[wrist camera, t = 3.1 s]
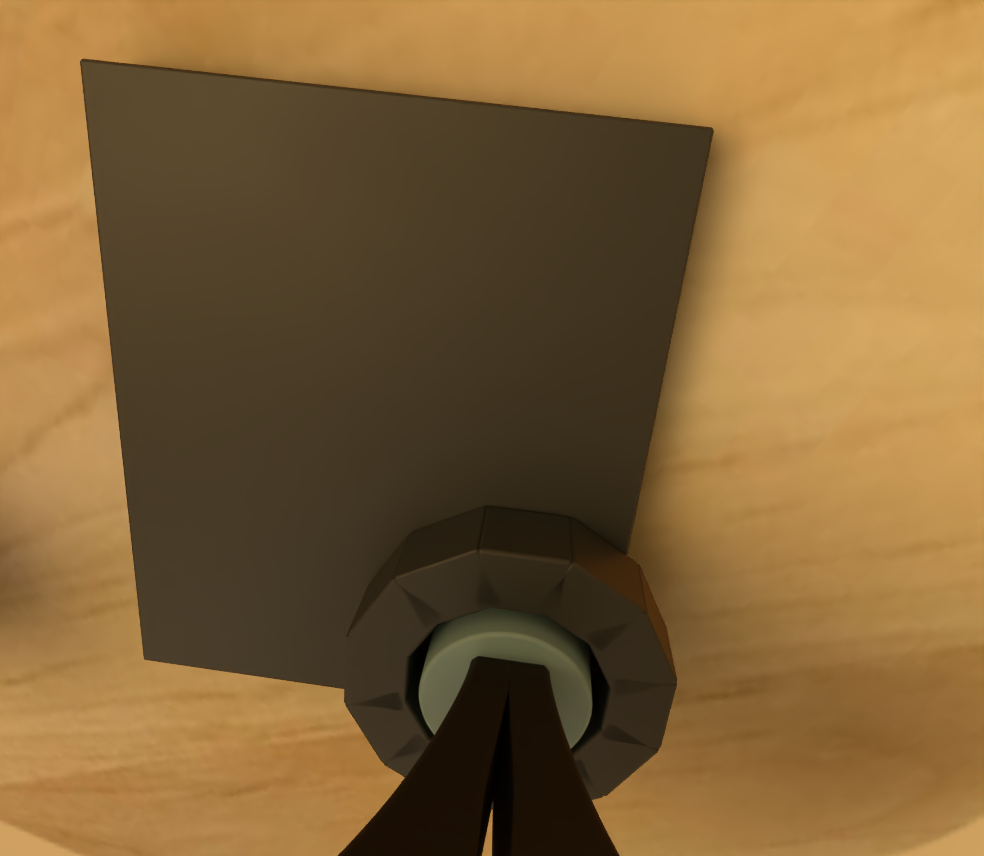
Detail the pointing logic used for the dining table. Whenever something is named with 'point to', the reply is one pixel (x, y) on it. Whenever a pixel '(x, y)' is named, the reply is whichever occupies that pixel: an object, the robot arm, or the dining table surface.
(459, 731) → the robot arm
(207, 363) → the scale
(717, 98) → the dining table surface
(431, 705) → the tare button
